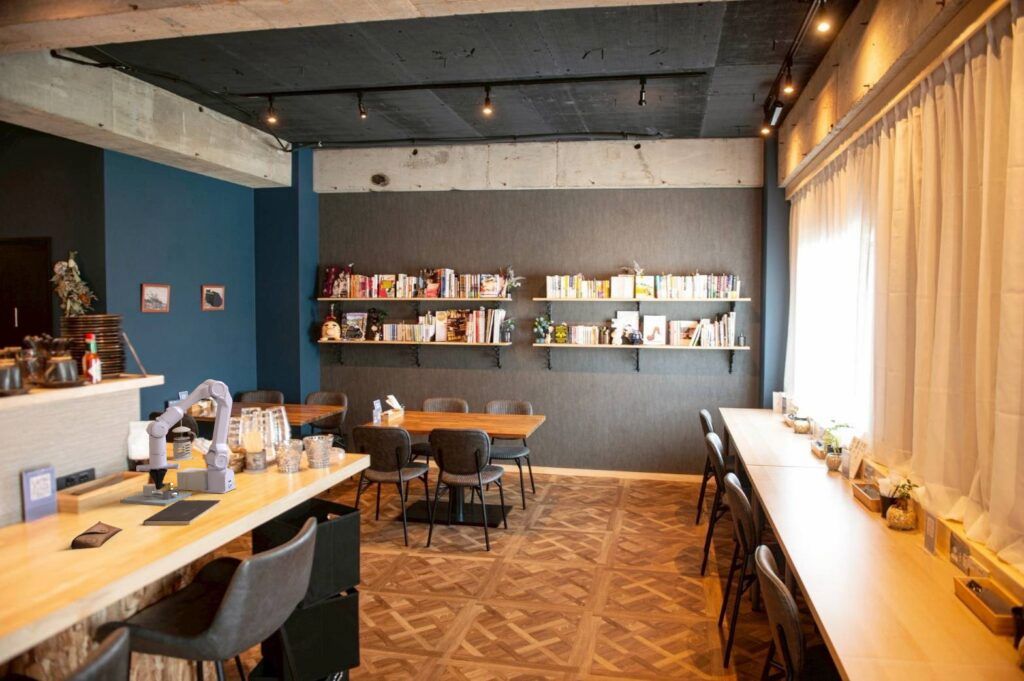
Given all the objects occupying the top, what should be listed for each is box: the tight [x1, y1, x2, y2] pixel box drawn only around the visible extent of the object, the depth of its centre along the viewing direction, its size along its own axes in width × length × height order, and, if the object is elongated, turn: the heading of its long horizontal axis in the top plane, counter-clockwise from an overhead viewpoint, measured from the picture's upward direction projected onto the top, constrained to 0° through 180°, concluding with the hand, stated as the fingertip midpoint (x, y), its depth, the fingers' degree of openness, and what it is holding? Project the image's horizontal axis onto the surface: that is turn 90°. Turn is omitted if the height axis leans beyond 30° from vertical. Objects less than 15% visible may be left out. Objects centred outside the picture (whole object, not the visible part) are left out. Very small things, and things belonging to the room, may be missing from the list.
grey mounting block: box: [162, 487, 180, 500], centre depth 264 cm, size 2×6×3 cm, turn 167°
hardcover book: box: [143, 499, 221, 526], centre depth 246 cm, size 16×23×2 cm
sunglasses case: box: [70, 520, 123, 550], centre depth 221 cm, size 18×7×7 cm
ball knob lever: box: [155, 481, 174, 491], centre depth 263 cm, size 2×6×2 cm, turn 93°
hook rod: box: [142, 483, 178, 497], centre depth 265 cm, size 14×3×4 cm, turn 77°
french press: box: [170, 422, 197, 462], centre depth 334 cm, size 10×12×25 cm
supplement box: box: [176, 467, 208, 492], centre depth 280 cm, size 7×7×13 cm
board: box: [119, 490, 193, 507], centre depth 265 cm, size 20×14×1 cm
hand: (158, 488), depth 262 cm, fingers closed, pressing on ball knob lever
